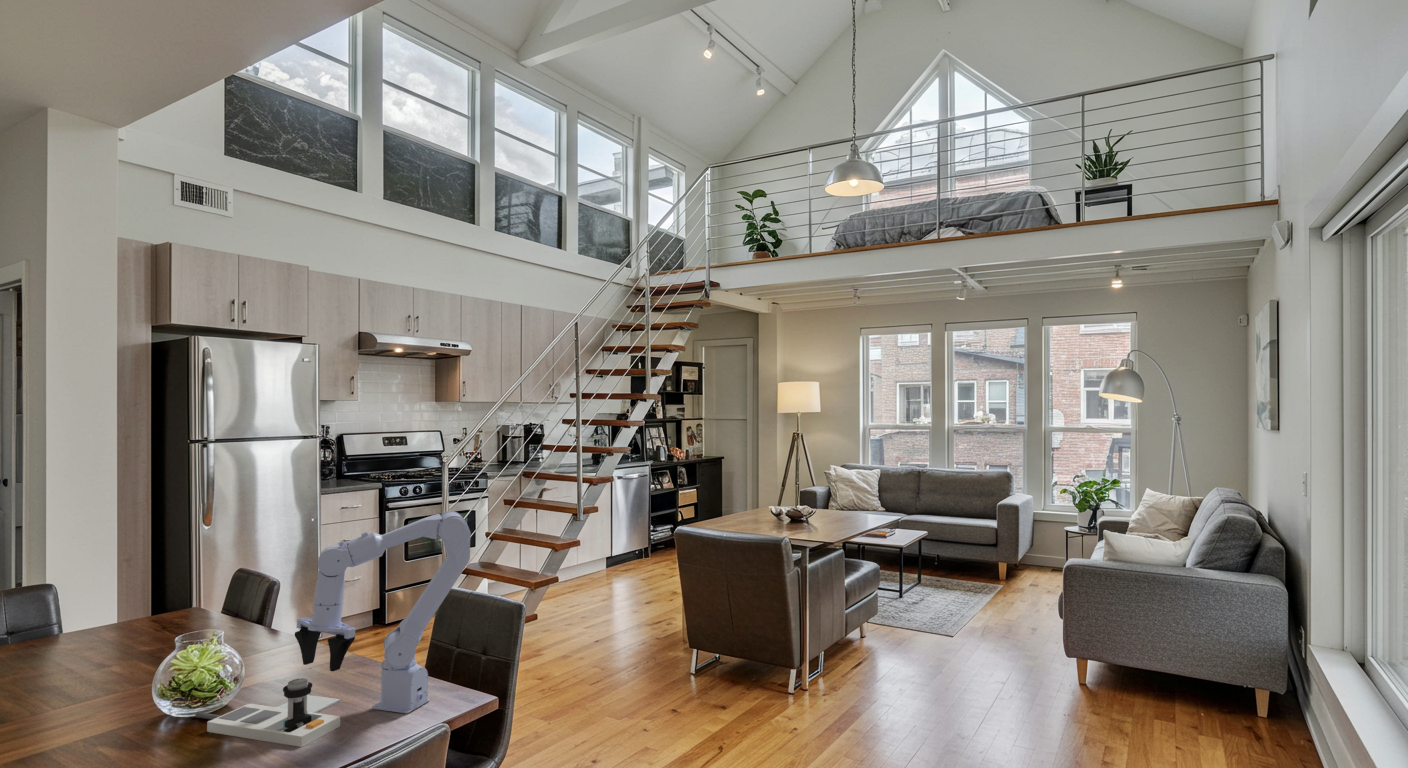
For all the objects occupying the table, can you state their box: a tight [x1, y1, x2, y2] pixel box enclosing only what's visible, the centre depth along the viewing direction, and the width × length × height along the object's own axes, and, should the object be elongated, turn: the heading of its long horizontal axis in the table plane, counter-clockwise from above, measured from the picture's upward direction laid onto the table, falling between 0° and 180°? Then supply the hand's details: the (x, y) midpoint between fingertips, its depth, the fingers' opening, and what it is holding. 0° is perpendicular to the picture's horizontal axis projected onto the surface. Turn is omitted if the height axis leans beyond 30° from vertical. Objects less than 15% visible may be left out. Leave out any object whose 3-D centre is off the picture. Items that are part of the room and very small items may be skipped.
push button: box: [277, 678, 313, 733], centre depth 153 cm, size 7×5×10 cm
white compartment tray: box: [194, 703, 341, 748], centre depth 156 cm, size 33×10×3 cm, turn 74°
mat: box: [277, 694, 341, 713], centre depth 166 cm, size 10×10×1 cm
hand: (321, 666), depth 161 cm, fingers open, 7 cm apart
